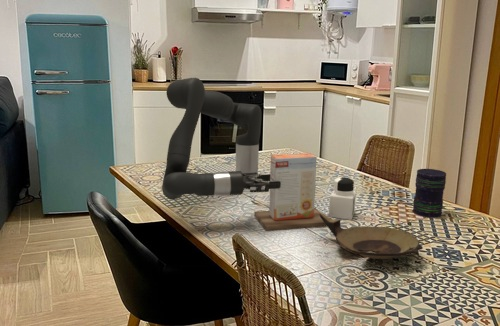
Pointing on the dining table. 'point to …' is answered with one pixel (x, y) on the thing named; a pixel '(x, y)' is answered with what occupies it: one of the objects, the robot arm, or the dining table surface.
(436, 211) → the storage jar
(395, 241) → the oil lamp
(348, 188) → the container
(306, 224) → the walnut board
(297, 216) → the cracker box
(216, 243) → the dining table surface
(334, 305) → the dining table surface
